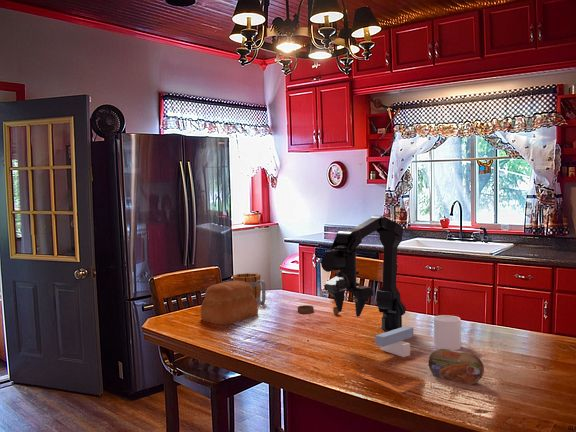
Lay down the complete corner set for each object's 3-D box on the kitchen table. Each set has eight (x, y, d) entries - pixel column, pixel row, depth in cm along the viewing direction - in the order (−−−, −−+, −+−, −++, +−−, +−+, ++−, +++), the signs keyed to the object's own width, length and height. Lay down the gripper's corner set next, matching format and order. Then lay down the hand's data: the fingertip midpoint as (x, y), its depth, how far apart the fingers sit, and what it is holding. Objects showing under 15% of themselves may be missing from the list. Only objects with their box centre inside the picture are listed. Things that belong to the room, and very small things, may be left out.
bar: (405, 334, 172) (405, 326, 172) (413, 336, 170) (413, 327, 170) (375, 345, 162) (375, 335, 162) (382, 346, 160) (382, 337, 160)
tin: (428, 376, 147) (427, 347, 147) (432, 373, 150) (432, 345, 149) (481, 388, 138) (481, 357, 137) (485, 384, 140) (485, 354, 140)
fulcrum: (369, 355, 167) (369, 340, 167) (395, 348, 174) (395, 333, 174) (394, 364, 158) (394, 348, 158) (421, 356, 165) (420, 341, 165)
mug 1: (227, 307, 247) (226, 275, 246) (248, 302, 256) (247, 272, 256) (254, 312, 233) (253, 279, 232) (276, 307, 242) (275, 276, 242)
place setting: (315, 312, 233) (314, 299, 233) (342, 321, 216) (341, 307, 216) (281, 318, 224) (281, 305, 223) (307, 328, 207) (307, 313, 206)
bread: (262, 319, 221) (261, 280, 220) (226, 330, 204) (224, 288, 203) (233, 314, 232) (232, 277, 231) (196, 324, 215) (195, 284, 214)
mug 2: (471, 347, 173) (470, 316, 173) (452, 355, 165) (452, 322, 165) (447, 342, 179) (447, 312, 179) (428, 350, 171) (428, 318, 171)
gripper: (311, 267, 177) (313, 312, 178) (348, 274, 162) (349, 323, 162) (336, 264, 183) (337, 308, 184) (373, 270, 168) (374, 317, 169)
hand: (348, 314), depth 174 cm, fingers open, 9 cm apart
